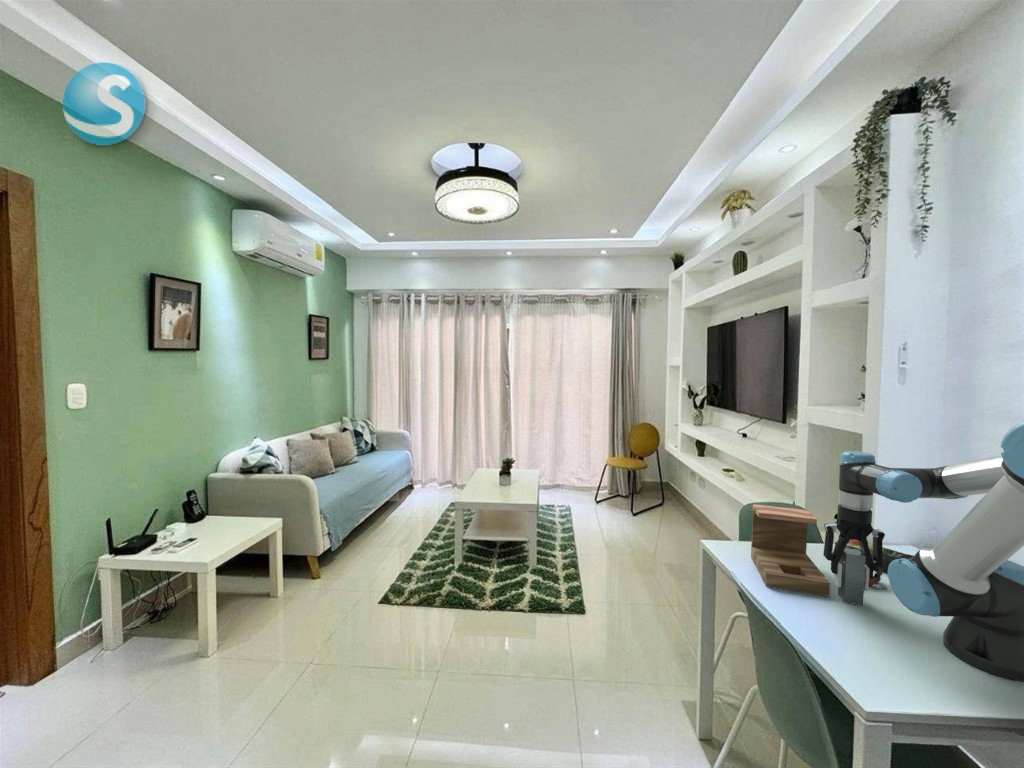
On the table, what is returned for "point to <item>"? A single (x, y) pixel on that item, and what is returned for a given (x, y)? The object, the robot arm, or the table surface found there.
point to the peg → (852, 576)
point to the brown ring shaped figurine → (876, 576)
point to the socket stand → (785, 550)
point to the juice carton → (887, 554)
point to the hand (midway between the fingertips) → (850, 586)
